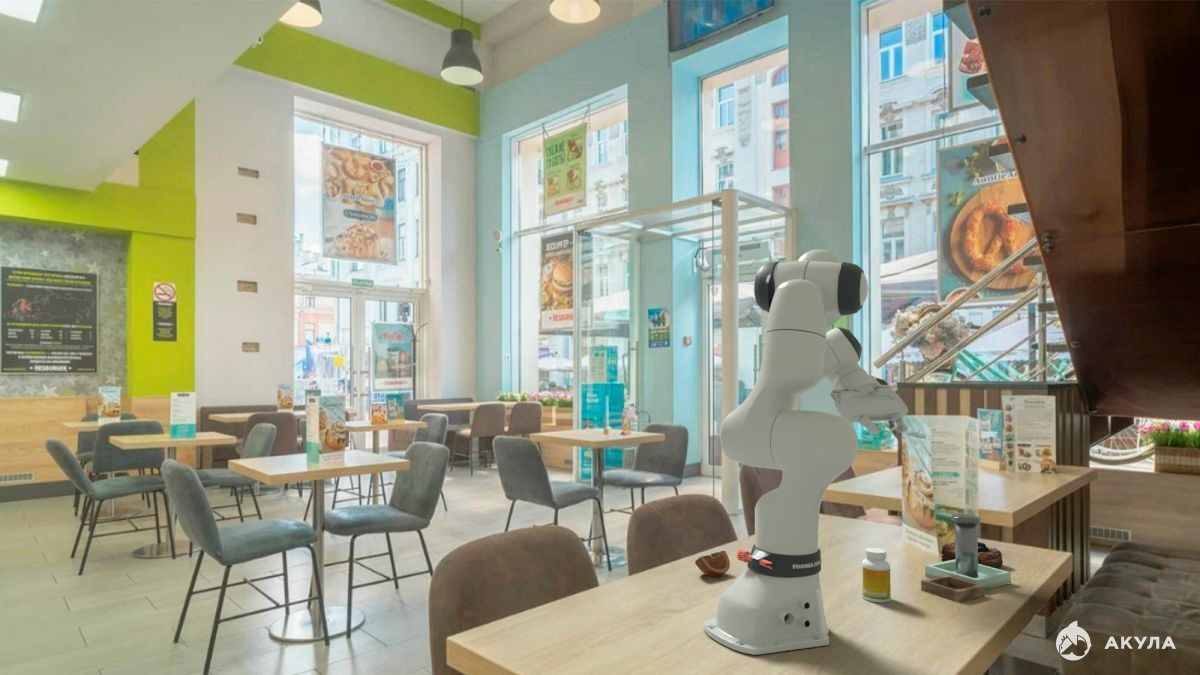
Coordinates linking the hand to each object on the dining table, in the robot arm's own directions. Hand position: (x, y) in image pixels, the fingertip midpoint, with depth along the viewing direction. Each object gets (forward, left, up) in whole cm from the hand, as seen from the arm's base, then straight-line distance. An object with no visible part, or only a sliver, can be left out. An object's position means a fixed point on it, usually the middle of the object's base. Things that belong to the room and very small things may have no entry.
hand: (891, 432), depth 163 cm
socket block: (-6, -19, -31) cm, 37 cm away
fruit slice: (-43, +14, -32) cm, 55 cm away
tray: (+5, -15, -31) cm, 35 cm away
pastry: (+18, -8, -32) cm, 37 cm away
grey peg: (+5, -15, -31) cm, 35 cm away
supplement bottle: (-23, -14, -32) cm, 42 cm away
